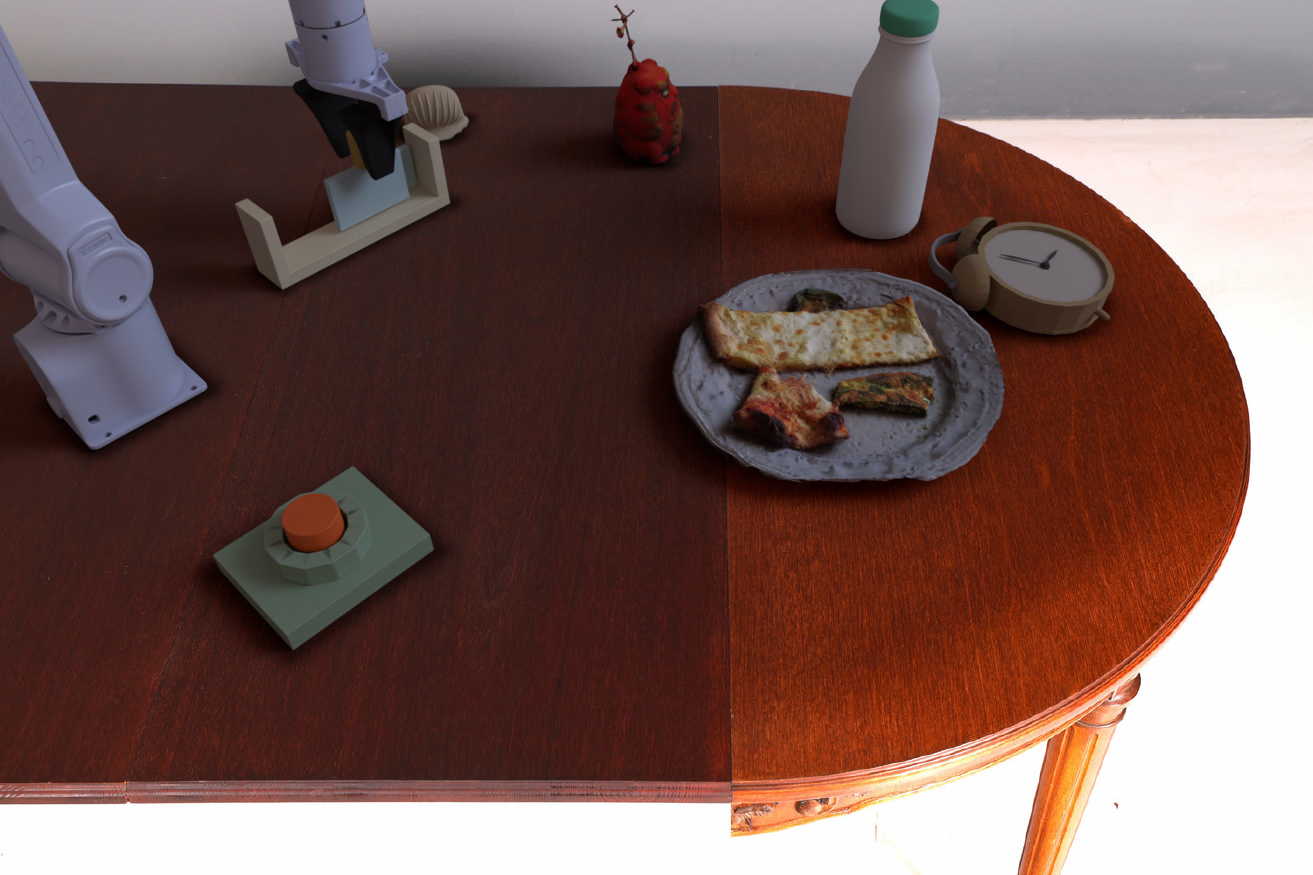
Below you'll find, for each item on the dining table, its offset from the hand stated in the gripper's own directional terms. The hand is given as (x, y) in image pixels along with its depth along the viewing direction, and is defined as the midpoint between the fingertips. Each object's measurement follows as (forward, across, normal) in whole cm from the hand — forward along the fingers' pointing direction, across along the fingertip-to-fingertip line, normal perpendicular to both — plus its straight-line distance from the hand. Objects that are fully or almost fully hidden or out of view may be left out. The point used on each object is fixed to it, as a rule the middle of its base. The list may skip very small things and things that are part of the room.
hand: (365, 164), depth 93 cm
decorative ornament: (+7, +10, -14) cm, 18 cm away
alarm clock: (+7, -48, -32) cm, 58 cm away
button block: (+6, -30, +26) cm, 40 cm away
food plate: (+7, -44, -12) cm, 46 cm away
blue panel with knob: (+5, 0, 0) cm, 5 cm away
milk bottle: (+7, -33, -32) cm, 47 cm away
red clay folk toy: (+7, -9, -26) cm, 29 cm away
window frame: (+6, 0, +2) cm, 7 cm away
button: (+3, -30, +25) cm, 40 cm away
